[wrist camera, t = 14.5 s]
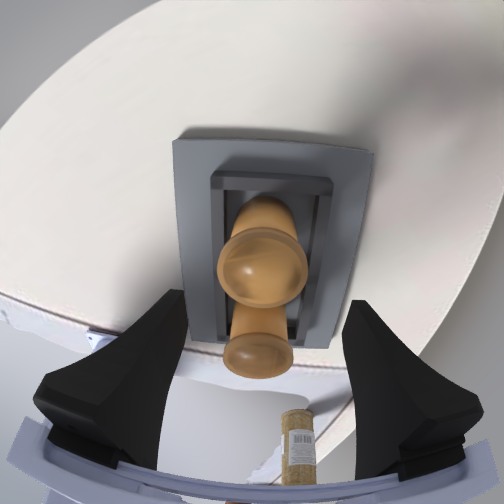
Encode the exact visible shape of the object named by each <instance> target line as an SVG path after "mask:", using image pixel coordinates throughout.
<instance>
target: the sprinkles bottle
mask: <svg viewBox="0 0 504 504" xmlns="http://www.w3.org/2000/svg"><path fill="white" fill-rule="evenodd" d="M281 421H282V437H281V455H282V486H295V485H317V484H316V453H315V436H314V430H313V414H312V412H310V411H308V410H304V409H295V410H290V411H288V412H285V413H284V414H283V415H282V416H281ZM302 504H307V503H302Z"/></svg>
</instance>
